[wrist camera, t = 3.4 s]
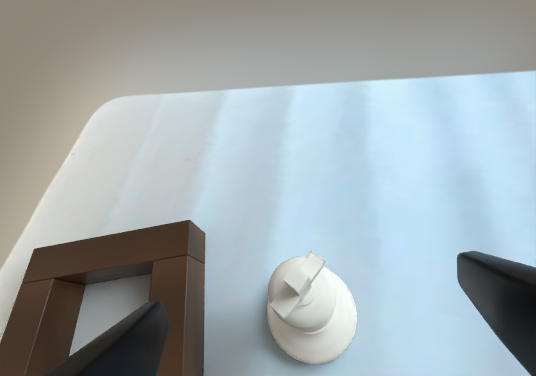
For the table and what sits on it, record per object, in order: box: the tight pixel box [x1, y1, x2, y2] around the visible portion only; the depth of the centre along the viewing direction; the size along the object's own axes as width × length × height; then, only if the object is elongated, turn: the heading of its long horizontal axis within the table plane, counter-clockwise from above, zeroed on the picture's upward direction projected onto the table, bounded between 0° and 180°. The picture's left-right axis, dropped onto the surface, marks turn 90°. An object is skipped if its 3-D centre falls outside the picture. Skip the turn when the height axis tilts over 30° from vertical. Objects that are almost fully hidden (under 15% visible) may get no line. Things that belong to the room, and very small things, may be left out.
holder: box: [0, 220, 205, 376], centre depth 15 cm, size 11×11×2 cm
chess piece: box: [267, 251, 357, 364], centre depth 10 cm, size 5×5×10 cm
